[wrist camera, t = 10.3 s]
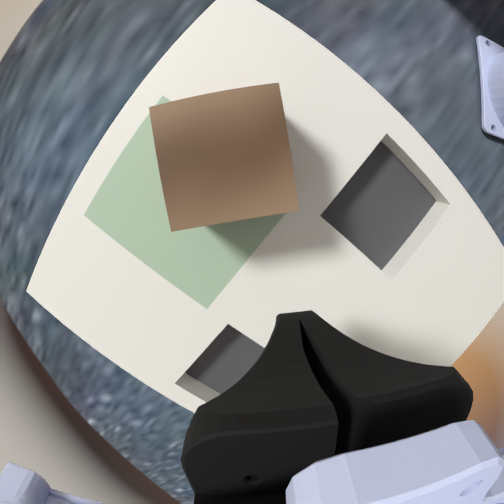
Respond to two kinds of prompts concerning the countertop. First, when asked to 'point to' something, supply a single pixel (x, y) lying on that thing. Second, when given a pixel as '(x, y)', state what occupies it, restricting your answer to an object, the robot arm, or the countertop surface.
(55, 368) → the countertop surface
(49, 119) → the countertop surface
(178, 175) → the walnut block
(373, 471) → the robot arm
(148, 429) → the countertop surface
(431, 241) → the board
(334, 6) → the countertop surface
